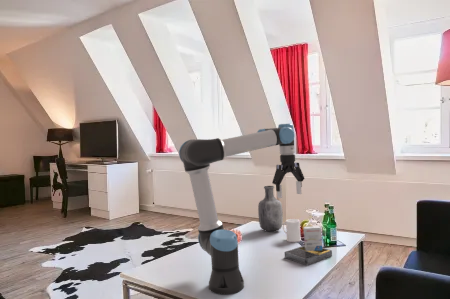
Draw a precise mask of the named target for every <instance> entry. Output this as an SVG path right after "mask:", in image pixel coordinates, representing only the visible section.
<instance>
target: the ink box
mask: <svg viewBox="0 0 450 299" xmlns="http://www.w3.org/2000/svg"><path fill="white" fill-rule="evenodd" d="M302 229H303V239H304V244H303V245H304V246H305V250H306V251H322V248H323V241H322V239H323V236H322V227H321V226H320V225H316V226H315V225H314V226H303V228H302Z"/></svg>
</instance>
